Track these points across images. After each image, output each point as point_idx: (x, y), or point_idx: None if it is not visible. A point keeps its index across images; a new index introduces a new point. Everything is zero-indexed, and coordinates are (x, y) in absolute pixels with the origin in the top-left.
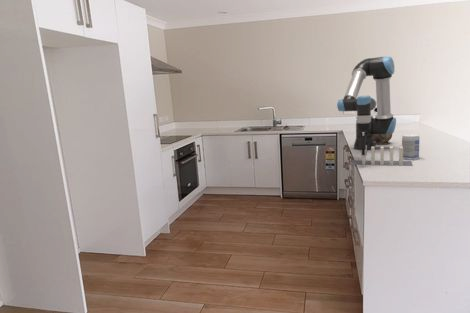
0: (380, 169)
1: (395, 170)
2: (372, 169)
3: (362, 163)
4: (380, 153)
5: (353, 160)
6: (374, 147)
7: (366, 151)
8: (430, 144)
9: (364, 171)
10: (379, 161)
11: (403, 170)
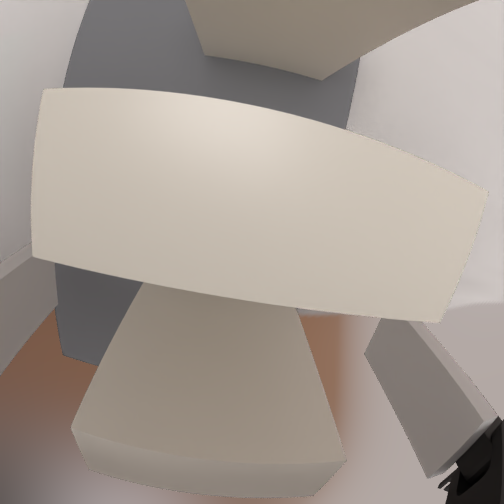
0: (472, 147)
1: (498, 52)
2: None
3: None
4: (402, 32)
5: (67, 340)
6: (377, 144)
7: (13, 275)
8: None
9: (482, 290)
10: (114, 60)
11: (492, 6)
